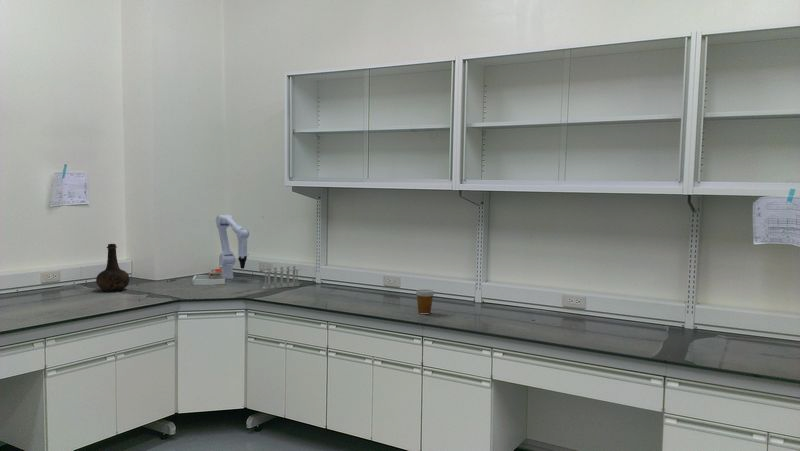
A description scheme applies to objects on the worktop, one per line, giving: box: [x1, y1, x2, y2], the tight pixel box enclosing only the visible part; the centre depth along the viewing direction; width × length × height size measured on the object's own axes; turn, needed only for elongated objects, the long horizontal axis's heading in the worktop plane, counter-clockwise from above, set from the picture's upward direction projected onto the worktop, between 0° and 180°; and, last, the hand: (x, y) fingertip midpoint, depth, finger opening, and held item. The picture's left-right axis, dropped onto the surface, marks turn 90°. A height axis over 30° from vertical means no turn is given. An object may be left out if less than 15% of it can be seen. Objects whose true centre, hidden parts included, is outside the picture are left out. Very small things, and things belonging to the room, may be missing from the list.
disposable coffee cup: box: [415, 289, 435, 314], centre depth 307 cm, size 10×10×12 cm
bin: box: [191, 274, 226, 286], centre depth 385 cm, size 18×20×4 cm
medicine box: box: [208, 268, 222, 279], centre depth 386 cm, size 15×8×8 cm, turn 19°
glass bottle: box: [95, 243, 131, 292], centre depth 349 cm, size 18×18×28 cm
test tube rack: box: [261, 265, 301, 290], centre depth 375 cm, size 25×4×13 cm, turn 128°
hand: (242, 267), depth 392 cm, fingers open, 7 cm apart
